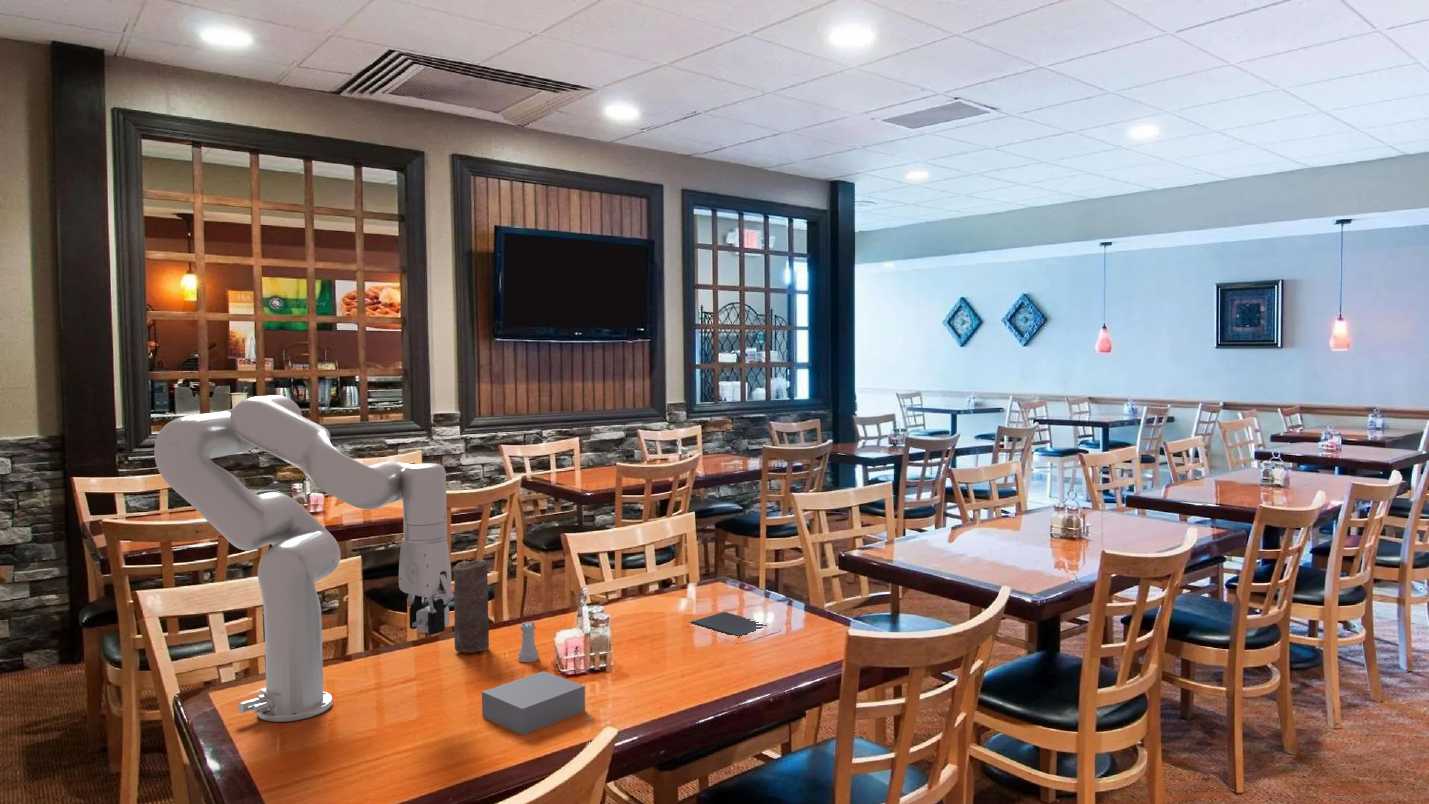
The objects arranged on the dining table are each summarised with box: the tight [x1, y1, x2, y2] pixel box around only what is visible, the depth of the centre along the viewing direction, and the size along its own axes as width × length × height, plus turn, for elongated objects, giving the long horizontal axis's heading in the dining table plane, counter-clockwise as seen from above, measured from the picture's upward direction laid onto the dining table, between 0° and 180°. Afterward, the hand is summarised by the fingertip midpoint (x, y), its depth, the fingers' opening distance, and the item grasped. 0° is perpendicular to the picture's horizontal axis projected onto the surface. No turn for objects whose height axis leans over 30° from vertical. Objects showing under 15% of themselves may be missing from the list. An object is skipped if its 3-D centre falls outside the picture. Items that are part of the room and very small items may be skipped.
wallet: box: [688, 611, 767, 638], centre depth 214 cm, size 20×2×15 cm
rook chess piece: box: [517, 620, 540, 664], centre depth 191 cm, size 4×4×8 cm
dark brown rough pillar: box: [453, 559, 490, 654], centre depth 196 cm, size 8×7×20 cm
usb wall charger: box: [413, 605, 450, 633], centre depth 163 cm, size 4×7×4 cm, turn 164°
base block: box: [481, 670, 586, 736], centre depth 163 cm, size 14×12×5 cm
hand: (427, 628), depth 163 cm, fingers closed on usb wall charger, 4 cm apart
